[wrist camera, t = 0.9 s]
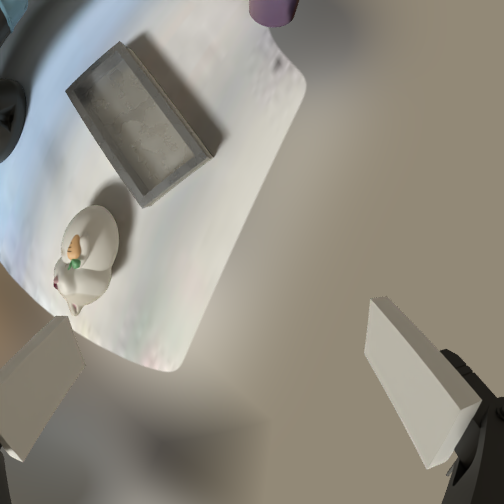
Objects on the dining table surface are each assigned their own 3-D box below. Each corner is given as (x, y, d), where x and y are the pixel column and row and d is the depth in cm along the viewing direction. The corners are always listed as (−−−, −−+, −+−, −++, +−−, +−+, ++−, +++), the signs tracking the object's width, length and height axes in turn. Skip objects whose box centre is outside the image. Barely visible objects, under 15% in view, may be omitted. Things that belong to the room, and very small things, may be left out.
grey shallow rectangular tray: (78, 97, 32) (63, 92, 28) (132, 50, 30) (121, 39, 26) (151, 205, 36) (140, 209, 32) (213, 157, 35) (209, 156, 31)
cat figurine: (70, 205, 27) (47, 324, 29) (135, 224, 32) (105, 334, 33) (73, 192, 34) (50, 289, 36) (124, 207, 39) (98, 300, 41)
